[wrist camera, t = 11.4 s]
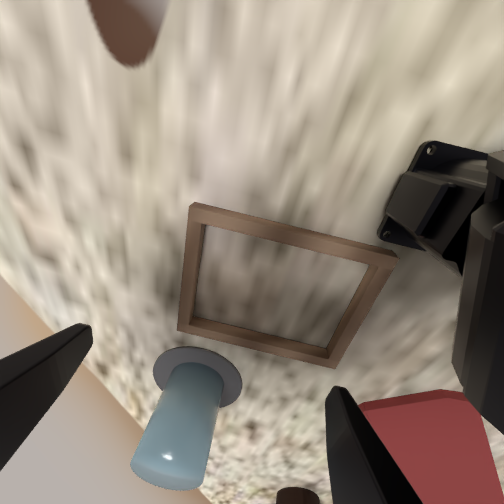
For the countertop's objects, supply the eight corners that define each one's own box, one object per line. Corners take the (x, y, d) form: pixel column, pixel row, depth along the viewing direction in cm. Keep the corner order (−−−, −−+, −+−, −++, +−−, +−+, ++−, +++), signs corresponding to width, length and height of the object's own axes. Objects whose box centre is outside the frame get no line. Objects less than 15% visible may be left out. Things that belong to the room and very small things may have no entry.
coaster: (250, 360, 24) (250, 362, 24) (233, 414, 29) (232, 416, 29) (155, 337, 24) (154, 339, 24) (153, 394, 29) (151, 397, 29)
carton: (335, 377, 30) (392, 506, 35) (342, 414, 25) (407, 556, 31) (443, 354, 26) (488, 501, 32) (474, 393, 22) (521, 557, 27)
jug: (216, 413, 29) (196, 506, 22) (168, 401, 29) (131, 490, 21) (228, 370, 25) (207, 464, 18) (172, 356, 25) (129, 445, 18)
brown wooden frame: (392, 250, 18) (399, 258, 16) (332, 358, 23) (334, 369, 22) (194, 201, 17) (189, 206, 16) (181, 321, 23) (176, 330, 22)
